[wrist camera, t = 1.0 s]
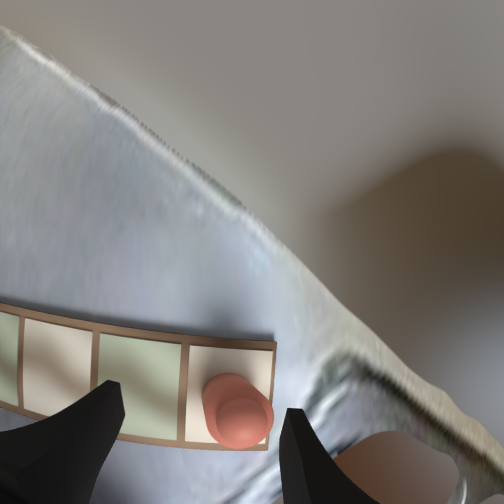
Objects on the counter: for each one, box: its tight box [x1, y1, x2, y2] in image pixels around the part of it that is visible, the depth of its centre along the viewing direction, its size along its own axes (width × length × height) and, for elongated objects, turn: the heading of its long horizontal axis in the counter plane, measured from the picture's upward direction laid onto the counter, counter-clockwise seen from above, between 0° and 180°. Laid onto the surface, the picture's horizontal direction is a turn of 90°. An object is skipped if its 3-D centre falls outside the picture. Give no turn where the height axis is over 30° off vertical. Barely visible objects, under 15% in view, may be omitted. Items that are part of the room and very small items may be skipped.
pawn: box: [202, 373, 274, 449], centre depth 20 cm, size 4×4×8 cm
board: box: [0, 303, 277, 451], centre depth 22 cm, size 10×30×1 cm, turn 86°
